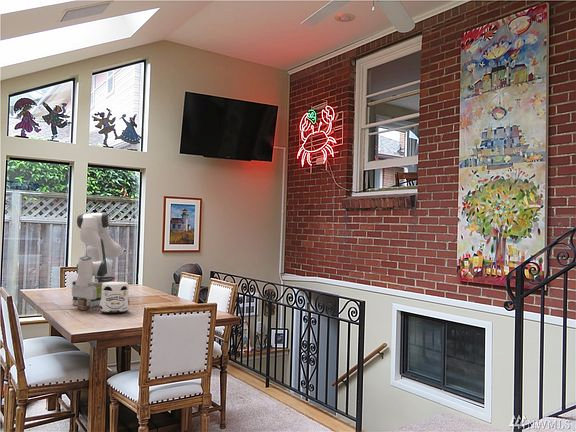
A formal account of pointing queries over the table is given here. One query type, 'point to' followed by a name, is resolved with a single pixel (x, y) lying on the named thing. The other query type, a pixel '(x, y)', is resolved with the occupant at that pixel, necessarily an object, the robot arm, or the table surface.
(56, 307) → the table surface
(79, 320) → the table surface
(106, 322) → the table surface
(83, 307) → the walnut block
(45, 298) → the table surface
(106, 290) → the milk container
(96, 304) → the tea box
